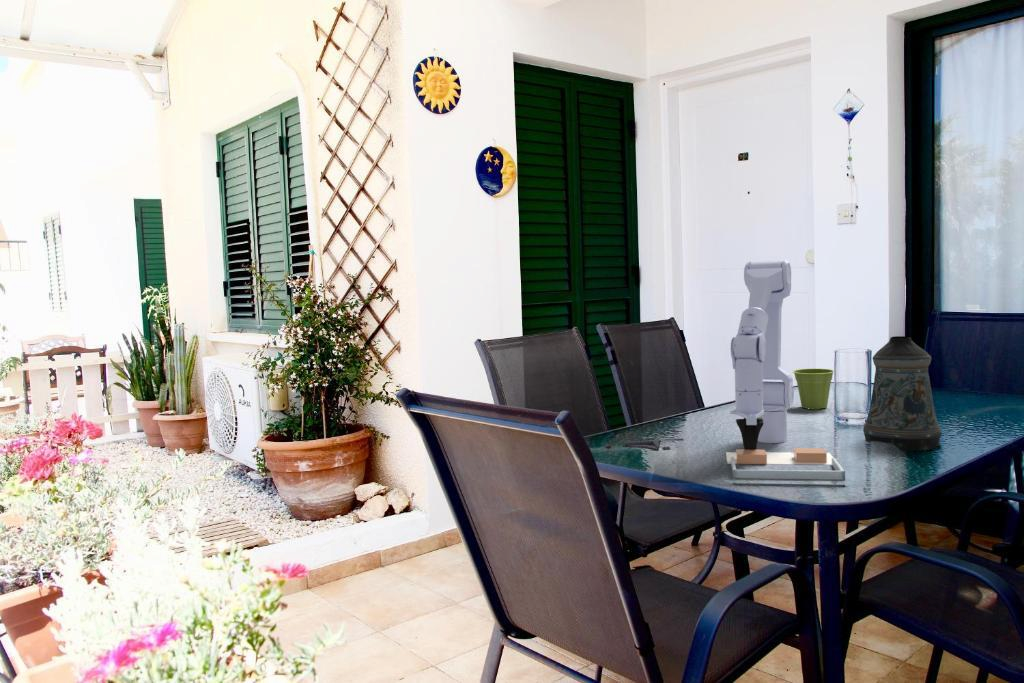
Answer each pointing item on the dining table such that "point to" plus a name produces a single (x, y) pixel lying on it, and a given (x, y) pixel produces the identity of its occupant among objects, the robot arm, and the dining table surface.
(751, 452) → the terracotta tile
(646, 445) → the bracket
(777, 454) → the cream plate
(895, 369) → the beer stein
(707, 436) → the dining table surface
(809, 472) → the tray
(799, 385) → the plant pot
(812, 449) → the terracotta tile
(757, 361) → the robot arm
